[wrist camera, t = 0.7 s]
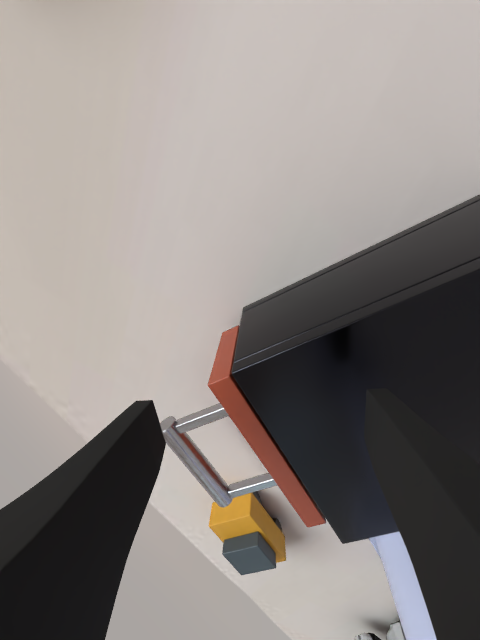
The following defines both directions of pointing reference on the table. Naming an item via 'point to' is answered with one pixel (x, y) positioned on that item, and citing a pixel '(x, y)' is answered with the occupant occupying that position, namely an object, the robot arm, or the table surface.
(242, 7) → the table surface
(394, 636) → the robot toy
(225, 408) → the cabinet drawer
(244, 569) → the yellow and grey block
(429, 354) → the drawer cabinet
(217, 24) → the table surface
